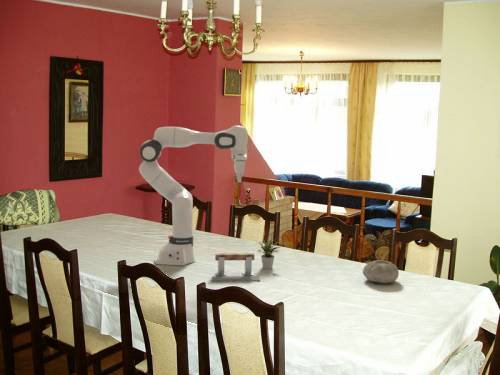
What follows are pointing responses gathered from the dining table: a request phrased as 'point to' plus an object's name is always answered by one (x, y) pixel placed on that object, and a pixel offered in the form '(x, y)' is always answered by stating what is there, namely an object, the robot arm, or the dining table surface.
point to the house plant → (268, 254)
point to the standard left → (221, 267)
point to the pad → (234, 278)
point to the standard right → (248, 267)
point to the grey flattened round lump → (381, 271)
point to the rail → (234, 256)
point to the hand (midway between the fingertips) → (238, 180)
